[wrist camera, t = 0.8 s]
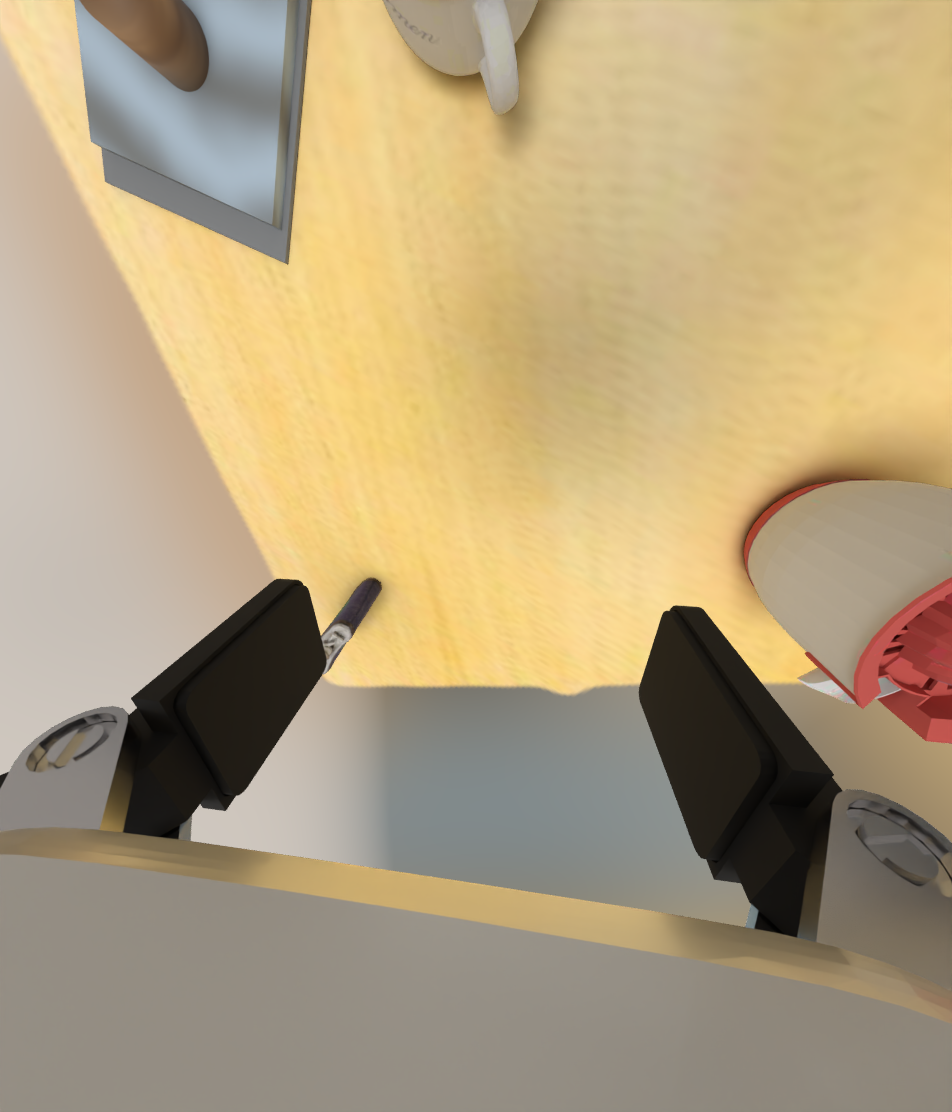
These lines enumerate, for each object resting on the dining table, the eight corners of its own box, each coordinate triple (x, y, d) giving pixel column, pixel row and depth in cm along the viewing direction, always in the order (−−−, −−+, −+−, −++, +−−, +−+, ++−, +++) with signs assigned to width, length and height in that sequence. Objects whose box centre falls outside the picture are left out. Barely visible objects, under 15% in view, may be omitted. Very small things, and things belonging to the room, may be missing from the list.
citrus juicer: (675, 574, 38) (808, 743, 21) (815, 427, 30) (1227, 497, 13) (786, 632, 40) (995, 834, 22) (945, 508, 32) (1466, 668, 14)
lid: (75, -173, 20) (-91, -376, 15) (303, -52, 21) (228, -200, 16) (108, 150, 27) (2, 92, 21) (281, 230, 28) (223, 194, 22)
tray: (67, -230, 20) (59, -242, 19) (319, -95, 21) (316, -103, 20) (110, 184, 28) (105, 181, 28) (287, 264, 29) (285, 262, 29)
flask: (356, 629, 47) (314, 691, 38) (337, 618, 47) (290, 678, 37) (386, 584, 43) (349, 642, 34) (366, 572, 43) (322, 626, 33)
